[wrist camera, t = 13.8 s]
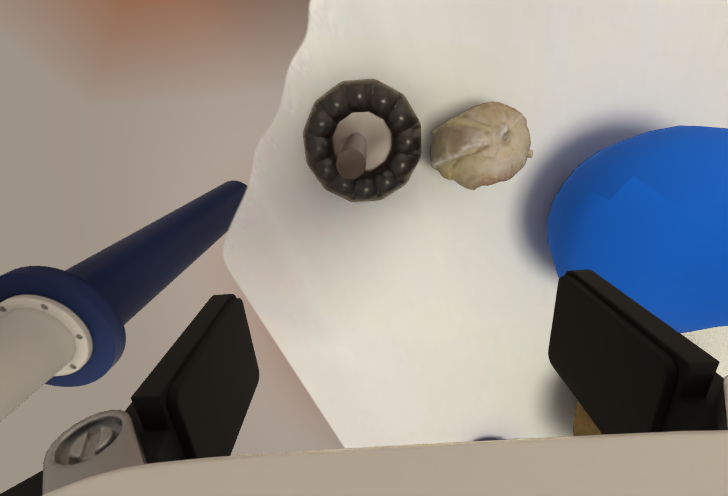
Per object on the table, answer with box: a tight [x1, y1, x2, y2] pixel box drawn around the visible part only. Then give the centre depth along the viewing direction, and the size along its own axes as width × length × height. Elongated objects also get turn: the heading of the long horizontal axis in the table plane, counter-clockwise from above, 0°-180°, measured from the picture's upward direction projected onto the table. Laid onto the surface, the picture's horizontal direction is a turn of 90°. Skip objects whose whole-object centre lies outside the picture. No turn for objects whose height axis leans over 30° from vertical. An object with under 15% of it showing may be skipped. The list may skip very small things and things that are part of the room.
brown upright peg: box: [332, 111, 393, 179], centre depth 30 cm, size 8×8×15 cm
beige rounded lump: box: [430, 102, 533, 190], centre depth 33 cm, size 9×8×10 cm
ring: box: [303, 79, 421, 202], centre depth 35 cm, size 12×12×3 cm
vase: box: [547, 126, 728, 333], centre depth 26 cm, size 18×18×30 cm
